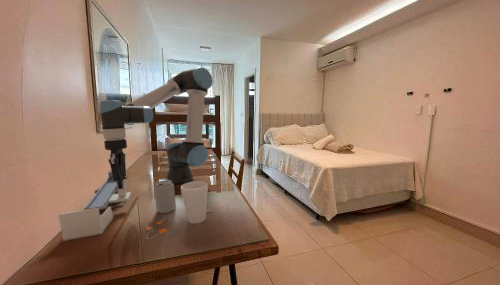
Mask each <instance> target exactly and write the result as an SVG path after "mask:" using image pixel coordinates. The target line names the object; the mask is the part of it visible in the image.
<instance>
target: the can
mask: <svg viewBox="0 0 500 285" xmlns="http://www.w3.org/2000/svg"><path fill="white" fill-rule="evenodd" d="M153 191H154V200H155V201H154V202H155V207H156V208H155V209H156V212H157V213H159V214H164V215H165V214H169V213H172V212H173V211H174V210H175V209H176V208H177V203H176V194H175V184H173V183H172V181H170V180H167V179H166V180H159V181H157V182H155V185H154V187H153Z"/></svg>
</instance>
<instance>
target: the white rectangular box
mask: <svg viewBox="0 0 500 285" xmlns="http://www.w3.org/2000/svg"><path fill="white" fill-rule="evenodd" d="M58 218H59V219H58V220H59V225H60V230H61V235H62V241H63V242H66V241H70V240H71V241H72V240H77V239H82V238H87V237H92V236H98V235H102V234H103V233H104V232H105V230H106V229H107V227H108V226H109V225H110V224H111V222H112V221H113V220H114V213H113V211H112V208H111V207H108V208H107V209H105V210H104V212H103V213H100V210H99V208H94V209H82V210H81V209H80V210H75V211H68V212H62V213H61V212H60V213H59V214H58Z"/></svg>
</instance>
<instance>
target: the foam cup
mask: <svg viewBox="0 0 500 285" xmlns="http://www.w3.org/2000/svg"><path fill="white" fill-rule="evenodd" d="M208 192H209V185H208V182H207V181H204V180H196V181H189V182H186V183H182V185H181V186H180V193H181V196H182V199H183V200H182V201H183V204H184V207H185V212H186V216H187V221H188V223H189V224H200V223H202V222H204V221H205V220H206V218H207V207H208V206H207V204H208Z"/></svg>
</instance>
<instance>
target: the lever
mask: <svg viewBox="0 0 500 285" xmlns="http://www.w3.org/2000/svg"><path fill="white" fill-rule="evenodd" d="M107 174H108V177H107V179H105V181H104V182H103V184H102V185H101V186H100V187H99V188H100V189H99V188H98V189H99V190H98V192H97V193H94V195H93V197H92V198H91V199H90V200H89V202H88V203H87V204H86V208H87V209H94V208H99V209H103V208H106V207H107V206H108V204H109V203H113V202H120V201H126V202H127V201H129V200H130V198H131V196H132V191H128V192H127V191H126V193H127V194H126V195H125V196H118V194H115V192H116V191H117V183H116V182H114V179H113V174H112V170H111V169H109V171H108V172H107ZM87 209H86V210H87ZM103 210H104V209H103Z"/></svg>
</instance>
